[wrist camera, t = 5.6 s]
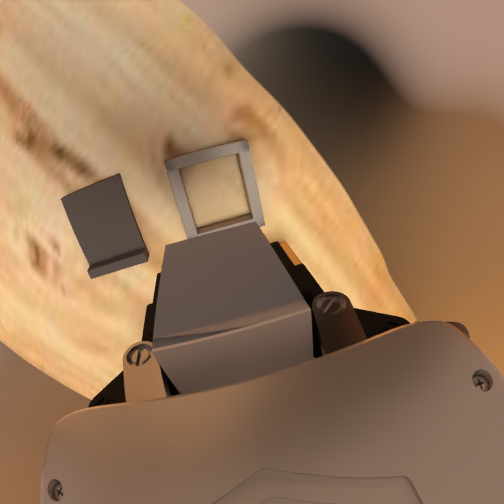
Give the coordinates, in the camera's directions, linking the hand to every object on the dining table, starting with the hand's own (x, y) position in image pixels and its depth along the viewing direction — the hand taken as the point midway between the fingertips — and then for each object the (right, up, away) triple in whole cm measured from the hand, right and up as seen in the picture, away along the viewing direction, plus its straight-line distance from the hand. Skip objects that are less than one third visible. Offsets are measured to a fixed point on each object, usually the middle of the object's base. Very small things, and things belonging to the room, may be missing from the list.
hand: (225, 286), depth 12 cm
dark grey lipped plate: (-14, +4, +13) cm, 19 cm away
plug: (0, 0, +1) cm, 1 cm away
